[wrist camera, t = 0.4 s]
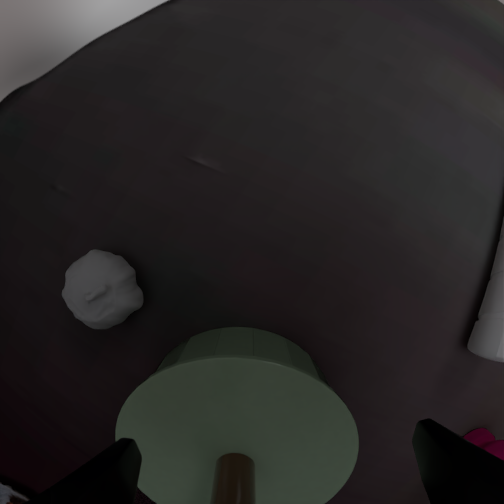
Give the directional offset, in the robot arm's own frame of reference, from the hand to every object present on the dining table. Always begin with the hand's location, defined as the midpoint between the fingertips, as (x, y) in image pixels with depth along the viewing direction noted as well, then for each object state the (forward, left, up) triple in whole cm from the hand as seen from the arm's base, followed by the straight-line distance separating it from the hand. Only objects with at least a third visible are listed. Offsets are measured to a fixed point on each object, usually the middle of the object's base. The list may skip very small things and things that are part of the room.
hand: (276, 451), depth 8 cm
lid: (-6, -5, -8) cm, 11 cm away
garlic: (-7, +9, -14) cm, 18 cm away
